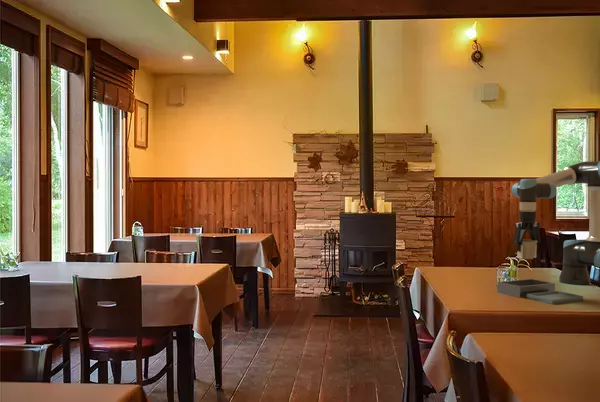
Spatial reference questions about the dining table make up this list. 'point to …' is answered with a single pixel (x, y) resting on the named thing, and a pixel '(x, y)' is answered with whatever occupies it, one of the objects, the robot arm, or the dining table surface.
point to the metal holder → (524, 287)
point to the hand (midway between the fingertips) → (526, 257)
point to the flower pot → (528, 248)
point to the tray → (554, 297)
